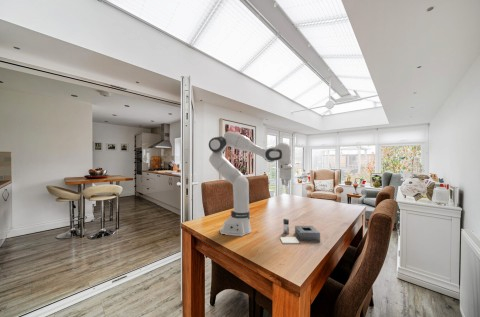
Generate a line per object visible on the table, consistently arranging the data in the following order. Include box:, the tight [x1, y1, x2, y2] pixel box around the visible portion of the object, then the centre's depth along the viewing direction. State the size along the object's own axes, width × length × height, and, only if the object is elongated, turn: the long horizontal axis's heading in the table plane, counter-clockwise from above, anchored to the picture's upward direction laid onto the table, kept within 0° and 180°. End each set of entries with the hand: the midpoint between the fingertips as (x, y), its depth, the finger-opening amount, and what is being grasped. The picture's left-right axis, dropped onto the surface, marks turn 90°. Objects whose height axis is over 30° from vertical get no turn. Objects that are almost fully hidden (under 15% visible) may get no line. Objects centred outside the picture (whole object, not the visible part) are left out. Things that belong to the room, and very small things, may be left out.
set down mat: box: [279, 236, 300, 245], centre depth 107 cm, size 10×8×1 cm
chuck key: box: [282, 218, 290, 235], centre depth 119 cm, size 4×4×9 cm
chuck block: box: [294, 225, 321, 242], centre depth 113 cm, size 12×12×5 cm
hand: (284, 185), depth 122 cm, fingers open, 8 cm apart
